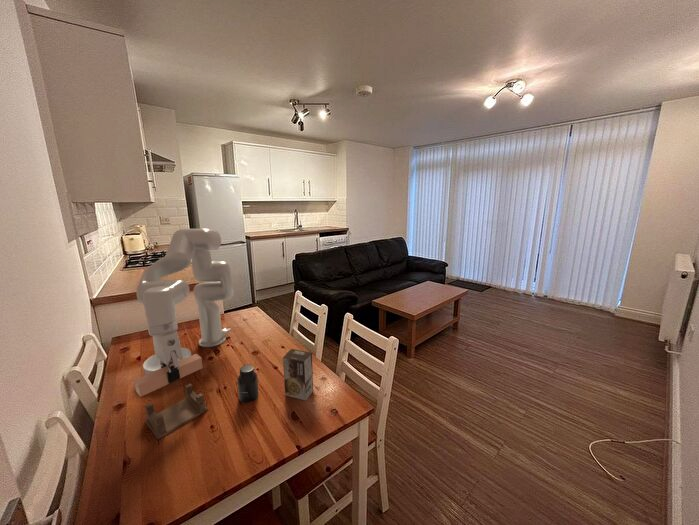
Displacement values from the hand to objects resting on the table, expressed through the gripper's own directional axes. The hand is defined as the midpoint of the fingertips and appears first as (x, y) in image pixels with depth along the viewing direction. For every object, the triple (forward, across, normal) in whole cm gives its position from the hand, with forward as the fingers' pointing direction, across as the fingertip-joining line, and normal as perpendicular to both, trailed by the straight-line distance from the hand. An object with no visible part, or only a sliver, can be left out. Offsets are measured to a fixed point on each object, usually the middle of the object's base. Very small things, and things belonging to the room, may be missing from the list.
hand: (171, 377), depth 89 cm
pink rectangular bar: (0, 0, 0) cm, 0 cm away
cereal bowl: (+15, +28, -8) cm, 33 cm away
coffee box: (+15, -24, -33) cm, 43 cm away
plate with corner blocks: (+15, 0, 0) cm, 15 cm away
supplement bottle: (+15, -11, -20) cm, 27 cm away
